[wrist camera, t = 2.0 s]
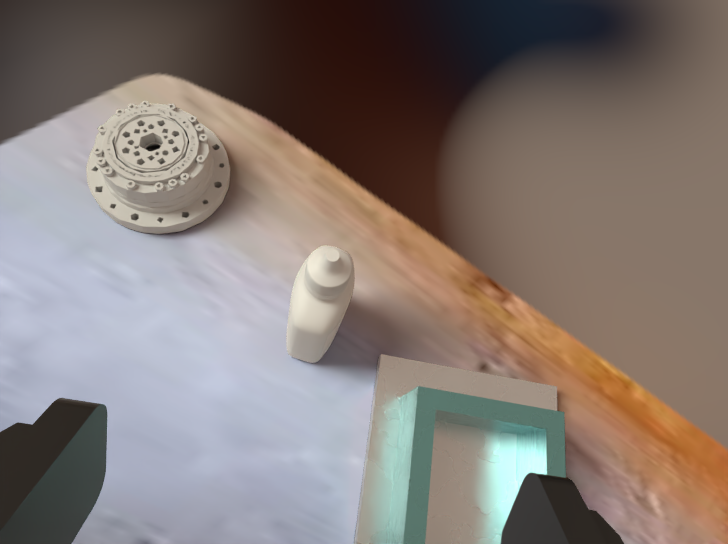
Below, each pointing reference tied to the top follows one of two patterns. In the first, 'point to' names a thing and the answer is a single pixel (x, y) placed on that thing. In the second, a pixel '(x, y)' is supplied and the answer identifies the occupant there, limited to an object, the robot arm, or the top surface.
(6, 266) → the top surface
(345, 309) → the eye dropper bottle
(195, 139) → the mechanical component
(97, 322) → the top surface
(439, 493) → the tray
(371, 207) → the top surface
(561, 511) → the robot arm
